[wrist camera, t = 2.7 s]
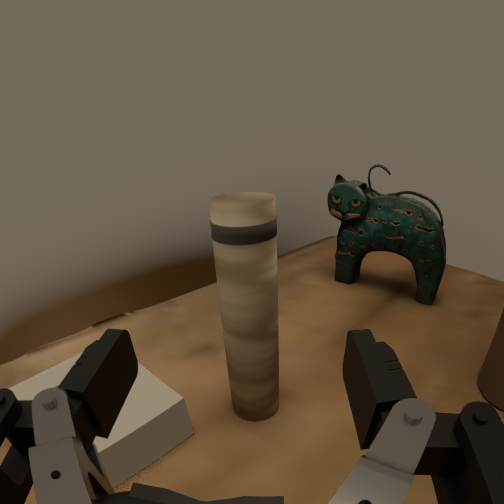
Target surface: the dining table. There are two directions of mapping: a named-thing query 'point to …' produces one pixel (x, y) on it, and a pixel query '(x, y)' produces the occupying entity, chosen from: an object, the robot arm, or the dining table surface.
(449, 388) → the dining table surface
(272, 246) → the beech dowel
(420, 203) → the ceramic cat
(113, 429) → the well block
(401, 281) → the dining table surface
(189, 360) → the dining table surface
